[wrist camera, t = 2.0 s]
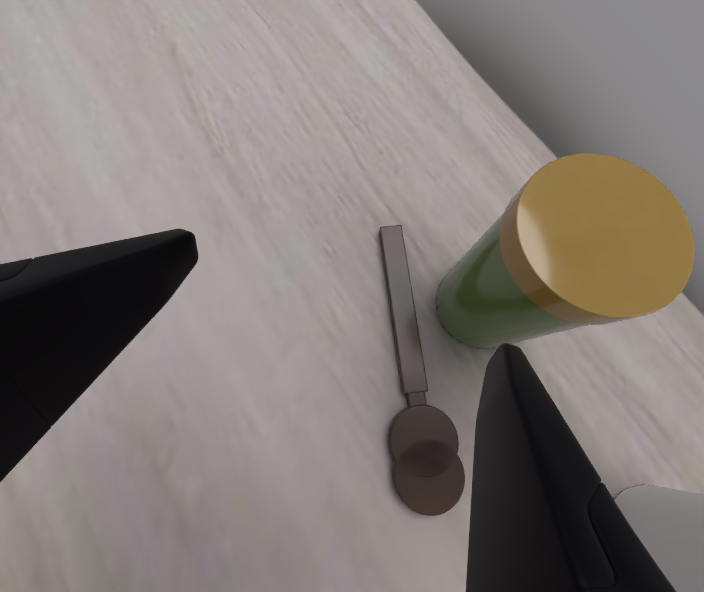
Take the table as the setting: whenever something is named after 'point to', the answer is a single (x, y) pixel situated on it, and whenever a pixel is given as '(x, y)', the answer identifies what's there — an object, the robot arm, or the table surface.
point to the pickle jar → (570, 255)
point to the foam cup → (669, 531)
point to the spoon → (417, 403)
